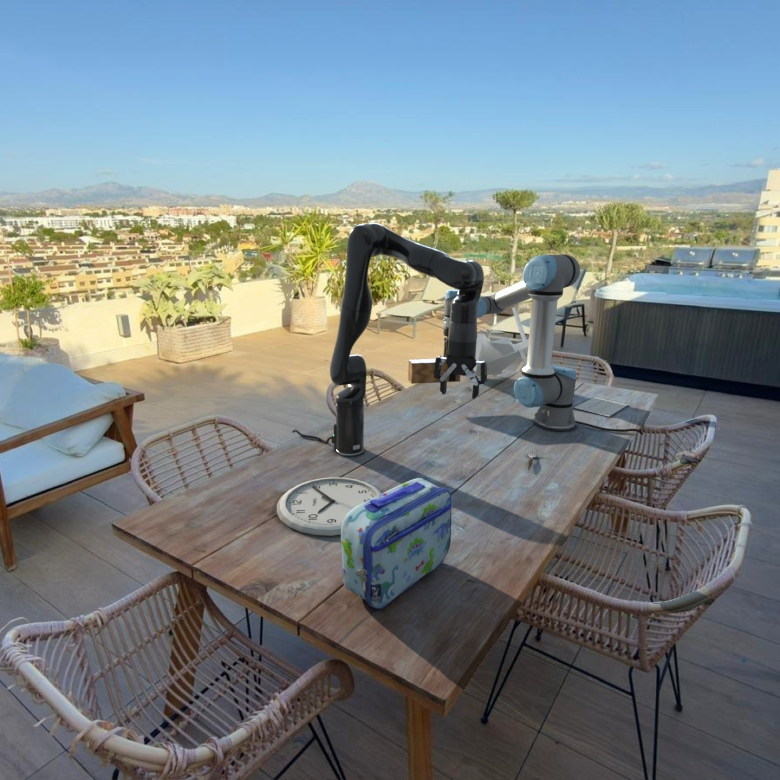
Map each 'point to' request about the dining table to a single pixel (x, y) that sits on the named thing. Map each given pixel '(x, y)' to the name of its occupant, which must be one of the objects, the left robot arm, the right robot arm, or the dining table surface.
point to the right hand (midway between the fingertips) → (449, 378)
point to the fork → (531, 457)
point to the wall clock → (323, 504)
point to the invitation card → (601, 406)
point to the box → (426, 371)
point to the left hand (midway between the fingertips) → (459, 395)
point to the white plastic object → (500, 351)
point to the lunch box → (395, 540)
